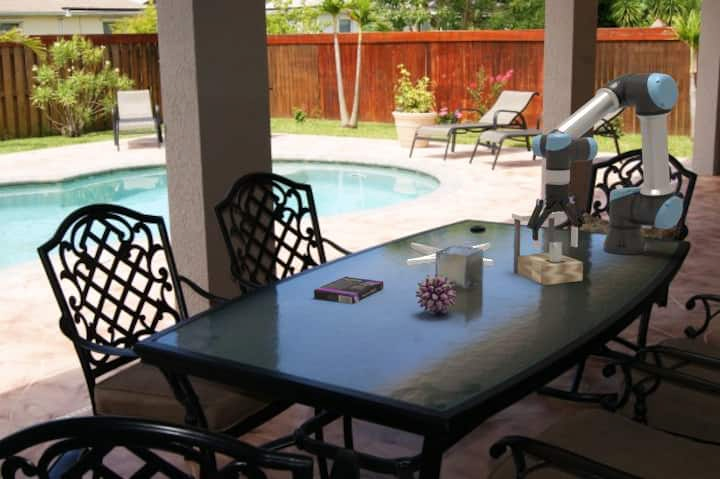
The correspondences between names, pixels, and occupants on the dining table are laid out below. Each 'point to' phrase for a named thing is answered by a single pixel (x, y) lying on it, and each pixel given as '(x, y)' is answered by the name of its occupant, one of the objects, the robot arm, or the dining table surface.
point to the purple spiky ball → (435, 293)
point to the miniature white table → (524, 217)
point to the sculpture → (431, 250)
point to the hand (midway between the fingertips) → (555, 248)
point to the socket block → (550, 269)
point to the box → (348, 290)
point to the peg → (555, 252)
